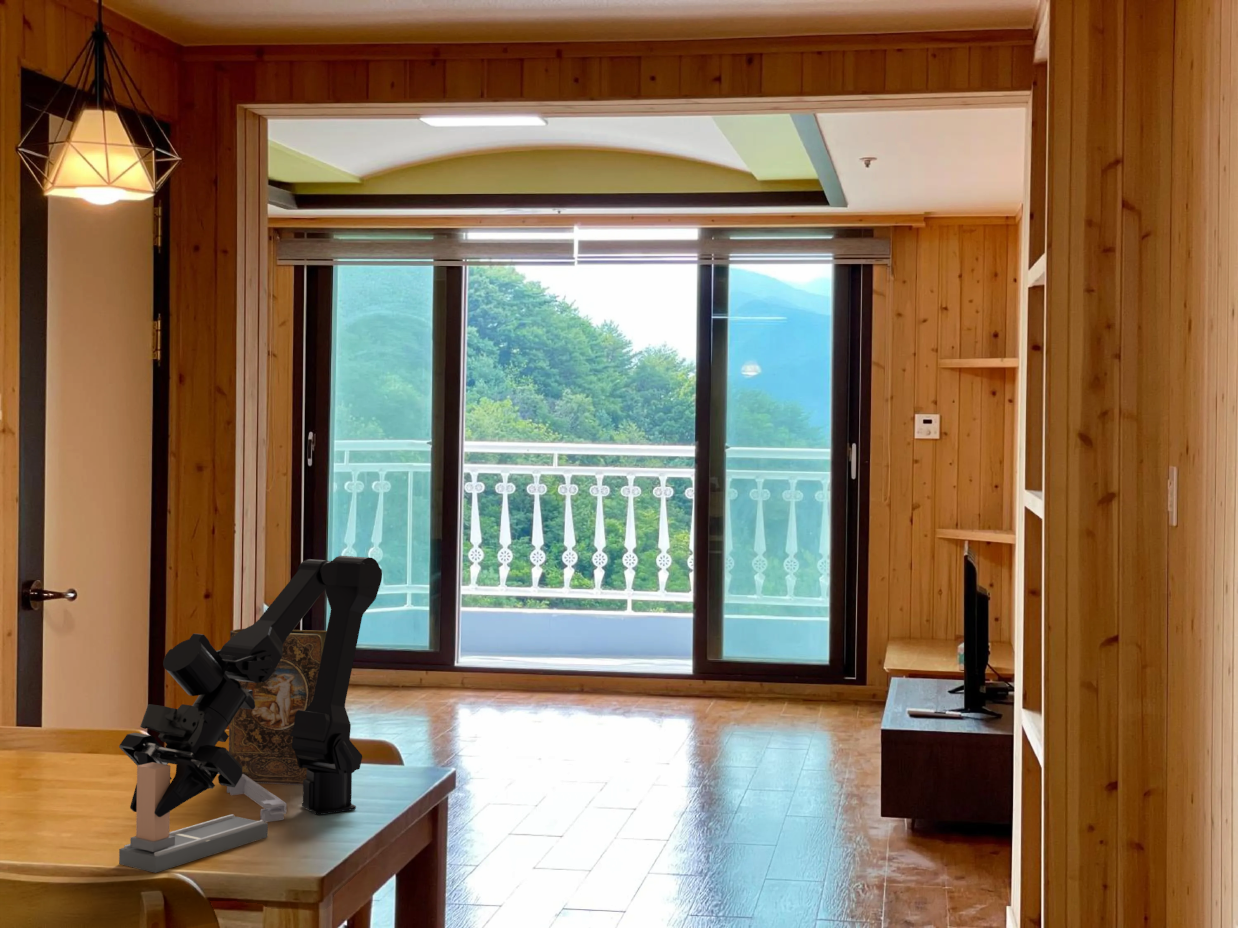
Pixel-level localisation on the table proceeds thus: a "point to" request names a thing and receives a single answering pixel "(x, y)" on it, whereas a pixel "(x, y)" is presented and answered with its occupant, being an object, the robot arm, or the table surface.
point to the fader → (152, 808)
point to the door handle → (260, 799)
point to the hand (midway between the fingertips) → (144, 812)
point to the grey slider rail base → (196, 843)
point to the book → (277, 712)
